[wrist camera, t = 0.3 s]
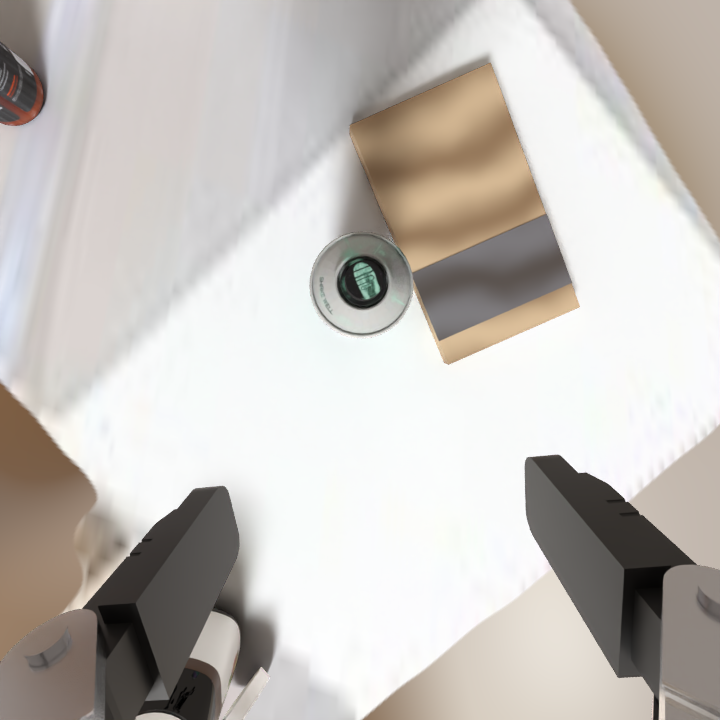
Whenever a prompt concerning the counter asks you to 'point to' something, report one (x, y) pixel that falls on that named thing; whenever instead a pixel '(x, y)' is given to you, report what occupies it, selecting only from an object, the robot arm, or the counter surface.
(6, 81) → the supplement bottle
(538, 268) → the plywood panel
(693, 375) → the counter surface
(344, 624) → the counter surface
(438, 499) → the counter surface
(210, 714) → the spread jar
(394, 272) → the spray can
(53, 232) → the counter surface
